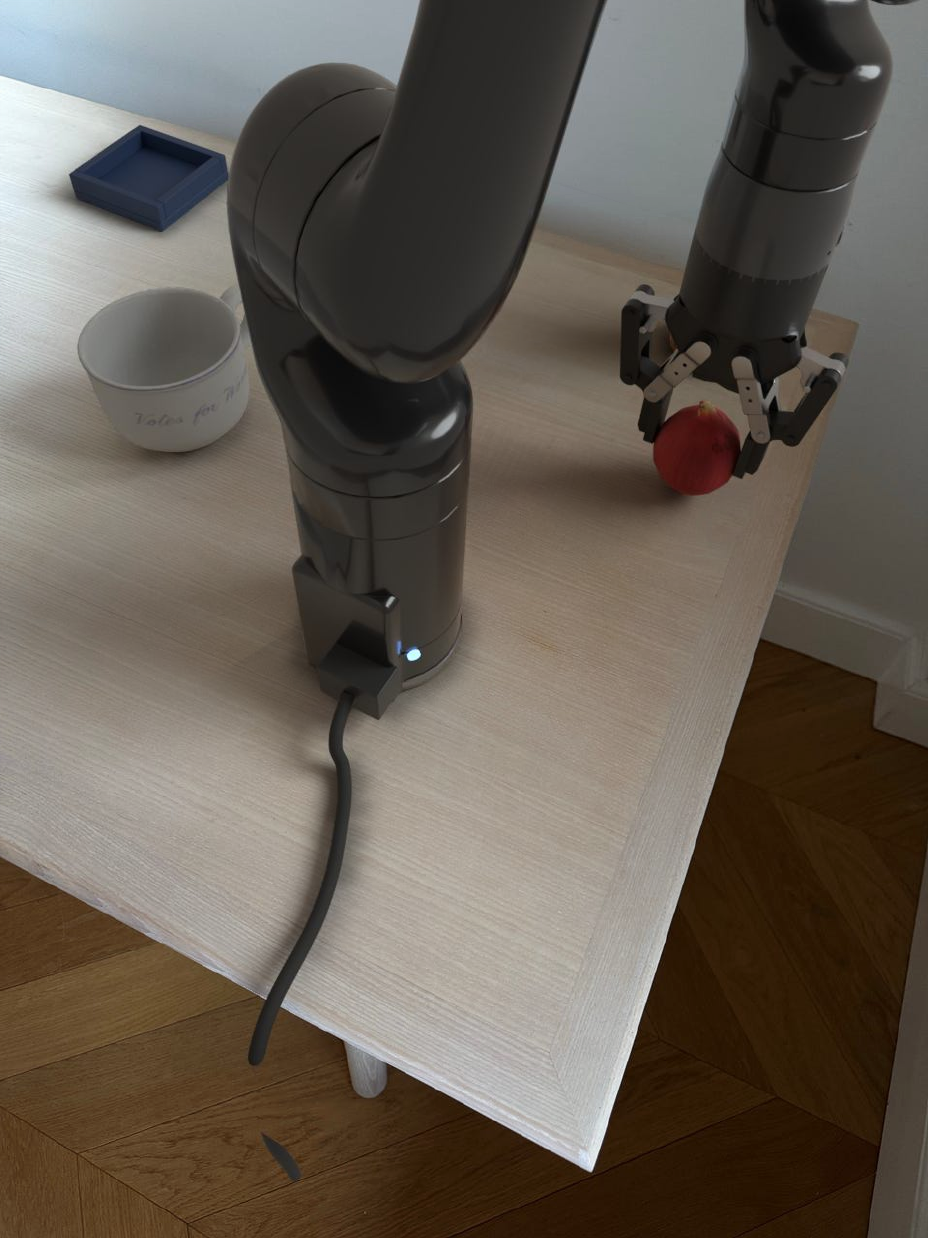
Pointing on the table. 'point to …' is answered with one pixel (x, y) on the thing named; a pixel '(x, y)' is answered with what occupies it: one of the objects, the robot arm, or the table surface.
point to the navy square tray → (149, 177)
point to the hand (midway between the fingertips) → (696, 451)
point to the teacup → (169, 366)
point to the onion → (697, 449)
